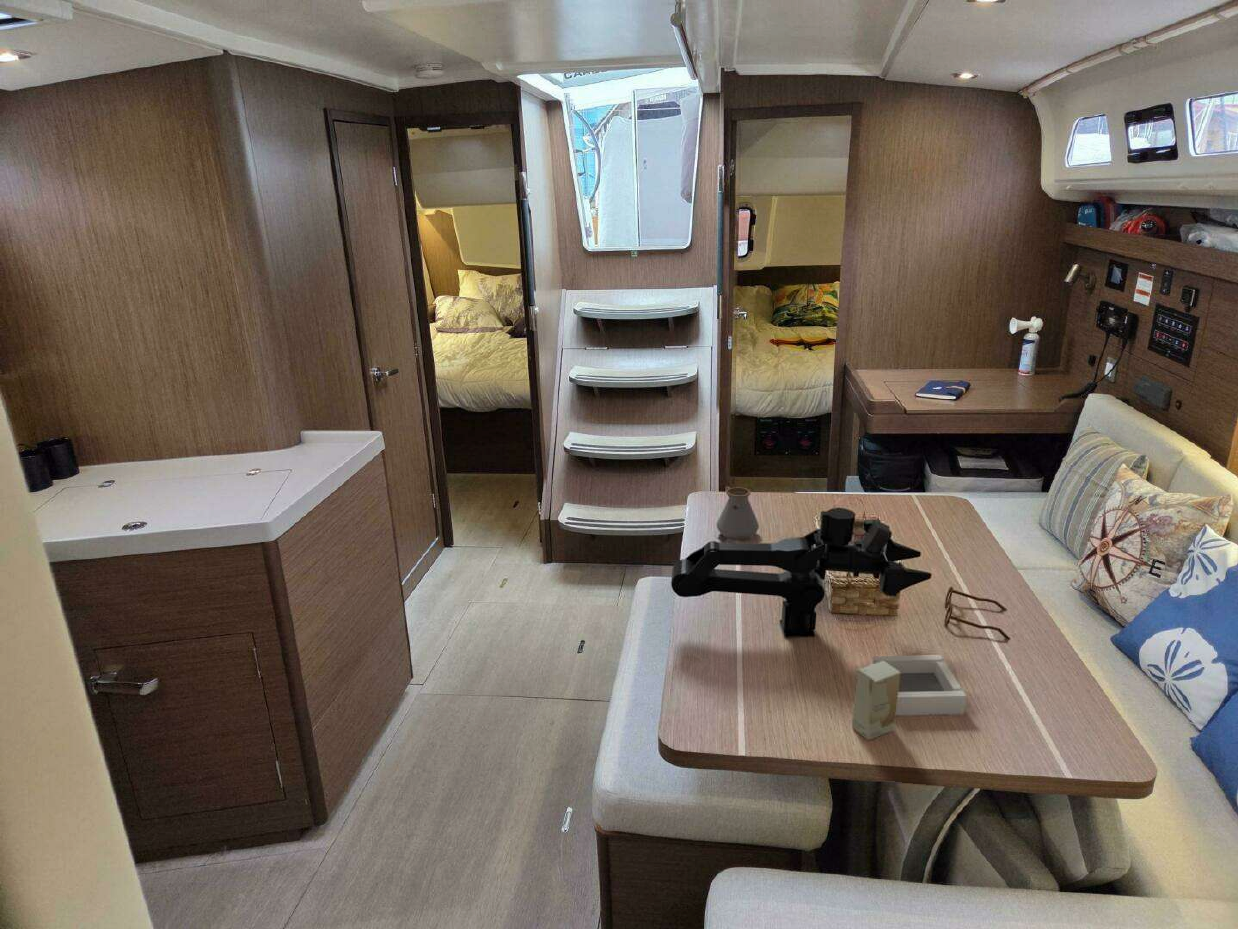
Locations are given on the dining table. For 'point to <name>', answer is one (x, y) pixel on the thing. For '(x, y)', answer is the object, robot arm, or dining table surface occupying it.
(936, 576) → the dining table surface
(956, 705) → the socket block
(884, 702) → the skincare box
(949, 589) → the glasses
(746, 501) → the grey conical vessel
